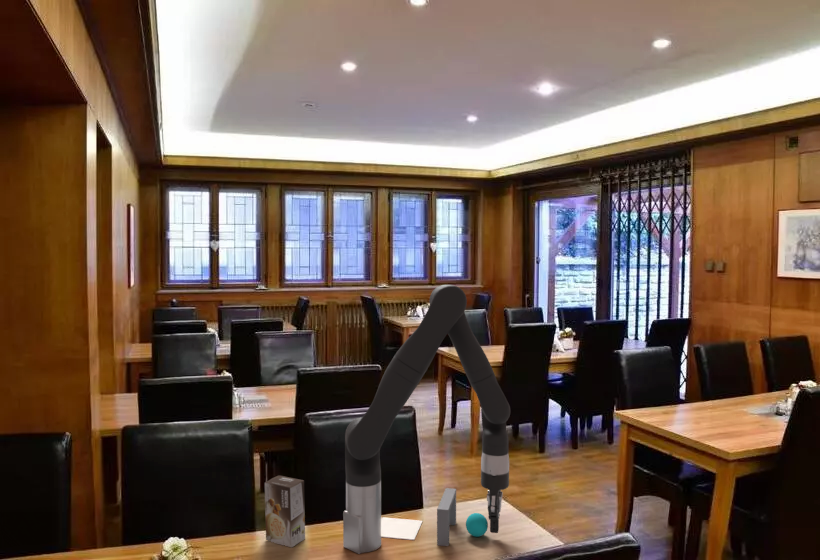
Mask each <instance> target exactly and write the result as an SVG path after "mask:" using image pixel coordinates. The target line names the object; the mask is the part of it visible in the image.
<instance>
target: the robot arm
mask: <svg viewBox="0 0 820 560" xmlns="http://www.w3.org/2000/svg"><path fill="white" fill-rule="evenodd" d="M467 303H468V299H467V296H466V293H465V291H463V289H462V288H460V287H459V286H458V285H454V284H442V285H438V286H436V287H435V288H434V289H433V290H432V292H431V294H430V296H429V307H428V308H427V311H426V313H425V314H424V317H423V318H422V320H421V322H420V323H419V325H418V326H417V328H416V329H415V330H414V331H413V332H412V334H411V335H409V337H408V338H406V340H405V342H404V343H402V345H401V346H400V348H399V349H398V350H397V351H396V353H395V354H394V356H393V358H392V359H391V361H390V362H389V363H388V366H387V367H386V369H385V371H384V372H383V373H384V374H383V375H382V378H381V380H380V381H379V384H378V387H377V390H376V393H375V395H374V398H373V400H372V402H371V404H370V405H369V407H368V409H367V410H366V412H365V413H364V414H363V416H361V417H357V418H354V419H353V420H351V422H349V424H348V425H347V427H346V429H345V431H344V432H345V433H344V457H345V458H344V459H345V460H344V462H345V464H344V465H345V510H344V511H343V513H342V517H343V522H342V523H343V525H342V529H343V533H342V534H343V535H342V536H343V543H342V545H343V547H344V548H345V549H348V550H349V551H352V552H354V553H356V554H359V555H360V554H363V553H369V552H373V551H376V550H377V549H378V550H379V548H381V546H382V537H381V518H382V468H381V459H380V456H381V455H380V453H381V451H380V450H381V448H382V446H383V445H384V444H383V443H384V442H385V439H386V438H387V435H388V434H389V431H390V429H391V427H392V425H393V423H394V421H395V419H396V417H397V416H398V415H399V413H400V412H401V410H403V408H404V406H405V405H406V404H407V402H408V401H409V399H410V397H411V396H412V395H413V393H414V391H415V390H416V388H417V387H418V385H419V383H420V382H421V380H422V378H424V375H425V373H427V371H428V368H429V367H430V365H431V363H432V362H433V359H434V357H435V355H436V354H437V352H438V350H439V348H440V346H441V344H442V343H443V340H444V339H445V338H446V337H447V335H448V336H449V338H450V341H451V343H452V345H453V347H454V349H455V352H456V354H457V356H458V359H459V361H460V364H461V365H462V366H461V367H463V371H464V373H465V375H466V377H467V379H468V382H469V384H470V386H471V388H472V389H473V390H474V392H475V394H476V398H477V399H478V402H479V404H480V410H481V411H480V413H481V414H480V416H481V426H482V427H481V428H482V440H481V441H482V442H481V444H482V445H481V446H482V447H481V459H480V485H481V487H482V488H484V489H487V494H486V501H487V511H488V521H489V531H490V533H492V534H498V533H499V527H500V526H499V524H500V521H499V520H500V516H501V514H500V513H501V510H502V500H503V494H504V493H503V490H507V488H508V487H509V486H510V457H509V434H508V432H507V431H508V430H507V421H508V420H509V418H510V417H511V416H510V415H511V406H510V404H509V402H508V399H507V398H506V396H505V393H504V392H503V390H502V388H501V386H500V384H499V383H498V380H497V378H496V374H495V372H494V370H493V367H492V365H491V363H490V360H489V358H488V357H487V354H486V353H485V350H484V349H483V347H482V346H481V344H480V342H479V341H478V339H477V337H476V336H475V334H474V332H473V331H472V328H471V326H470V324H469V321H468V319H467V315H466V313H465V311H466V309H467V305H468V304H467Z"/></svg>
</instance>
